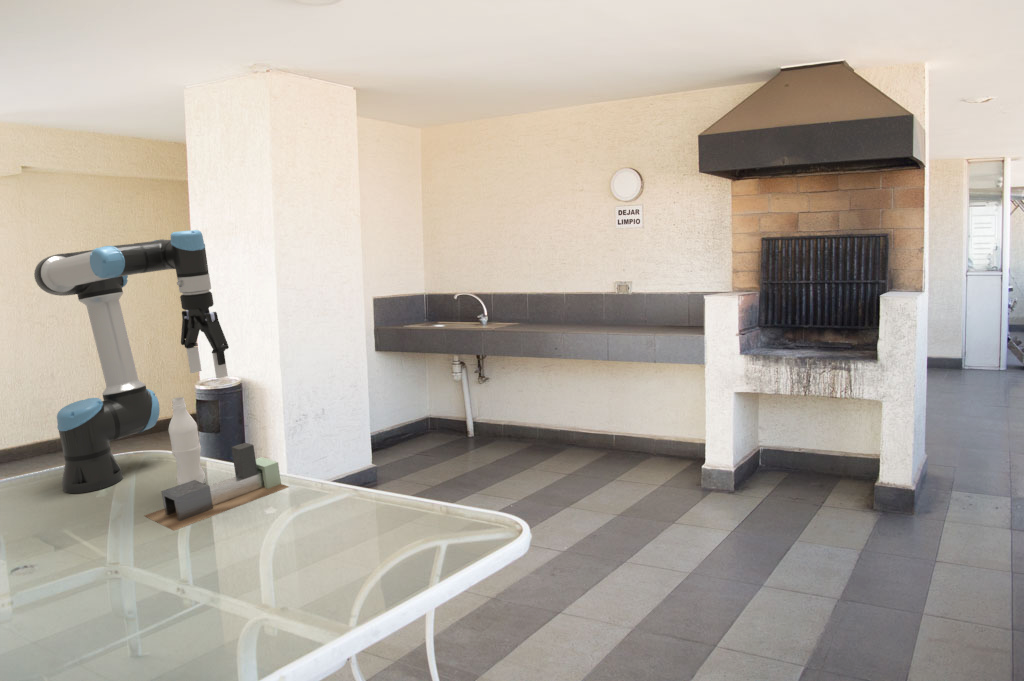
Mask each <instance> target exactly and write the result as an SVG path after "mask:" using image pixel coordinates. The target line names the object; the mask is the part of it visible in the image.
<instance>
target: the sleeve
mask: <svg viewBox="0 0 1024 681" xmlns="http://www.w3.org/2000/svg"><path fill="white" fill-rule="evenodd" d="M210 486H211V485H209V484H206V483H201V482H199V481H196V480H193V481H190V482H187V483H184V484H181V485H178V484H177V485H176V486H173V487H170V488H166V489H164V490H162V491H161V497H162V501H163V502H162V503H163V507H164V508H163V509H165V514H166V515H170V514H173V513H176V514H177V519H178V520H179V521H182V520H184V519H187V518H190V517H192V516H195V515H198V514H200V513H203V512H206V511H209V510H211V509H213V504H212V498H211V492H210Z"/></svg>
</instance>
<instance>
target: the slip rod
mask: <svg viewBox="0 0 1024 681" xmlns="http://www.w3.org/2000/svg"><path fill="white" fill-rule="evenodd" d="M254 446H255V445H254V444H253V443H252V444H251V443H248V442H243V443H239V444H236V445H234V446H231V454H232V455H231V456H232V460H233V465H234V473H235V476H233V477H231V478H229V479H226V480H223V481H219V482H216V483H214V484H211V485H209V486H210V492H211V498H212V504H213V505H216V504H218V503H221V502H224V501H226V500H229V499H232V498H235V497H237V496H240V495H243V494H245V493H248V492H251V491H254V490H256V489H259V488H262V487H264V479H263V473H262V469H257V465H256V459H257V458H256V452H255V448H254Z"/></svg>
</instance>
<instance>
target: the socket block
mask: <svg viewBox="0 0 1024 681" xmlns="http://www.w3.org/2000/svg"><path fill="white" fill-rule="evenodd" d="M255 459H256V465H257V469H262V473H263V479H264V486H265V488H267V489H268V488H271V487H274V486H277V485H279V484H282V482H281V481H282V480H281V475H280V474H281V473H280V468H279V462H278V461H277V460H272V459H270V458H266V457H264V456H261V457H258V458H255Z"/></svg>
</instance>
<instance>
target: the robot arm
mask: <svg viewBox="0 0 1024 681" xmlns="http://www.w3.org/2000/svg"><path fill="white" fill-rule="evenodd" d="M166 270H175V271H176V272H175V274H176V279H177V282H176V285H177V286H178V291H179V293H180V294H181V295H180V296H179V298H180V304H181V309H182V311H181V318H182V320H181V336H180V344H181V345H182V346H184V348H185V349H186V354H187V359H188V366H189V373H190V374H195V373H200V372H202V371H203V370H202V364H201V359H200V353H199V344H198V343H197V341H198V338H199V334H200V331H201V332H202V333H203V334H204V335H205V338H206V340H207V341H208V343H209V345H210V346H211V348H212V351H211V354H212V360H213V365H214V371H215V378H216V379H221V378H226V377H228V368H227V363H226V362H227V361H226V355H225V351H226V350H228V349H229V346H230V345H229V344H228V341H227V339H226V336H225V334H224V331H223V329H222V326H221V323H220V321H219V317H218V313H217V311H212V312H211V311H210V310H209V308H211V307H213V306H214V304H215V303H214V299H213V292H211V291H210V290H211V289H212V284H211V277H210V272H209V265H208V259H207V251H206V244H205V241H204V236H203V233H202V231H200V230H198V229H193V230H180V231H174V232H173V231H172V233H171V234H170V239H155V240H152V241H144V242H143V241H142V242H134V243H126V244H117V245H104V246H100V247H96V248H94V249H91V250H82V251H75V252H67V253H57V254H56V253H55V254H52V255H50V256H47V257H44V258H43V259H41V261H39V262H38V263H37V265H36V267H35V269H34V273H33V274H34V280H35V282H36V284H37V286H38V287H39V289H41V290H42V291H44V292H45V293H47V294H49V295H53V296H63V297H64V296H65V297H66V296H67V297H68V296H74V295H77V299H78V301H79V302H80V303H82V304H84V305H85V306H86V309H87V313H88V314H87V315H88V318H89V322H90V326H91V330H92V334H93V337H94V341H95V348H96V351H97V354H98V359H99V363H100V366H101V370H102V375H103V378H104V382H105V388H104V390H103V392H101V394H102V399H103V400H102V399H101V398H99V397H90V398H89V397H88V398H86V399H80V400H77V401H74V402H73V403H72V402H71V403H69V404H67V405H65V406H63V407H62V408H60V410H58V412H57V413H56V422H57V427H56V428H57V430H58V433H59V434H58V435H59V438H60V443H61V444H60V445H61V448H62V453H63V459H64V468H63V473H62V479H61V486H62V490H63V491H64V492H65V493H68V494H82V493H83V494H84V493H90V492H94V491H98V490H101V489H105V488H108V487H110V486H113V485H115V484H117V483H120V482H121V480H122V479H124V476H123V471H122V467H120V464H119V463H118V462H117V459H116V458H115V456H114V454H113V453H112V450H111V445H110V442H112V441H115V440H118V439H121V438H125V437H129V436H132V435H135V434H140V433H143V432H145V431H146V430H150V429H151V428H153V427H155V426H156V425H157V423H158V420H159V419H160V418H159V417H160V413H161V412H160V410H161V409H160V402H159V398H158V397H157V395H156V393H155V392H154V391H153V390H151V389H149V388H147V387H146V383H144V382H142V381H141V380H140V379H139V377H138V372H137V368H136V366H135V365H136V364H135V360H134V356H133V351H132V349H131V347H132V346H131V344H130V340H129V335H128V330H127V327H126V323H125V319H124V315H123V314H124V313H123V311H122V307H121V303H120V299H121V298H122V295H123V294H124V291H123V288H124V287H125V286H126V285H127V283H128V278H129V276H132V275H137V274H145V273H151V272H153V273H154V272H159V271H160V272H161V271H166Z"/></svg>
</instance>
